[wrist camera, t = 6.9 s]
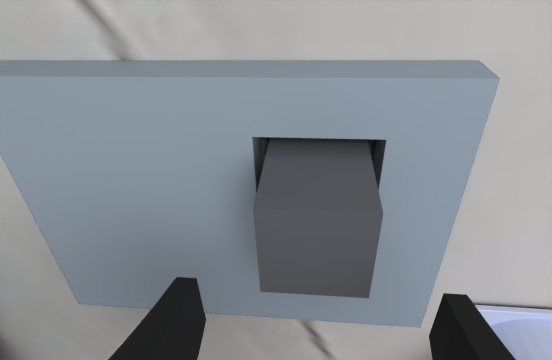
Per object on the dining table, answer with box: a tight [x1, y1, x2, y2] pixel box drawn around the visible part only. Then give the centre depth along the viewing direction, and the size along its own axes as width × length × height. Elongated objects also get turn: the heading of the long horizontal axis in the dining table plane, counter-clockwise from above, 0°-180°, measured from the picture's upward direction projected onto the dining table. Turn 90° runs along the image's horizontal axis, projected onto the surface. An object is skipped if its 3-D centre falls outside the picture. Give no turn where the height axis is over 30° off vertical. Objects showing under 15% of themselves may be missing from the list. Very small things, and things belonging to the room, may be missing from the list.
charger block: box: [253, 137, 383, 298], centre depth 15 cm, size 4×4×6 cm
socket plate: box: [0, 61, 500, 328], centre depth 18 cm, size 14×20×2 cm
